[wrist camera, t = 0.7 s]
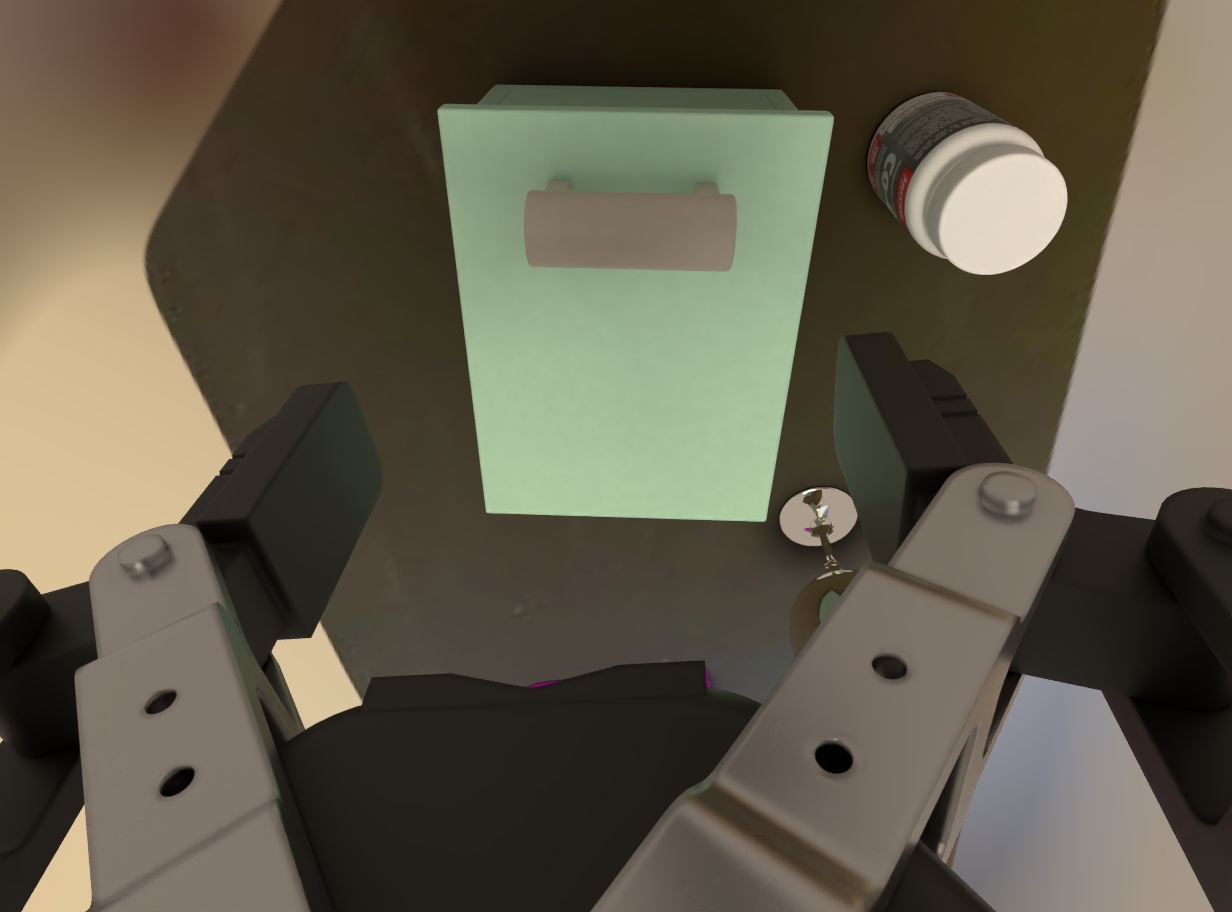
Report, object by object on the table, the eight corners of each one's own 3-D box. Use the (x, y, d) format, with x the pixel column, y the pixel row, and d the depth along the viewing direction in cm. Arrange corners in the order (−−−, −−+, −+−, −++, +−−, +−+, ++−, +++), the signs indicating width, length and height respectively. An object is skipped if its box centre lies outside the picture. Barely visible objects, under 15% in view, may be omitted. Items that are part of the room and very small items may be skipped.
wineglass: (882, 533, 43) (949, 711, 33) (788, 565, 45) (827, 742, 35) (851, 462, 40) (915, 634, 31) (752, 499, 42) (783, 672, 32)
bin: (494, 84, 30) (446, 134, 23) (782, 89, 30) (824, 142, 23) (518, 393, 39) (489, 500, 31) (742, 399, 38) (763, 509, 31)
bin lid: (442, 103, 22) (393, 146, 18) (830, 110, 22) (873, 155, 18) (489, 501, 31) (463, 593, 27) (763, 510, 31) (782, 604, 27)
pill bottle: (846, 138, 31) (902, 199, 24) (957, 63, 29) (1052, 107, 22) (893, 230, 33) (957, 311, 26) (1000, 166, 31) (1097, 234, 24)
